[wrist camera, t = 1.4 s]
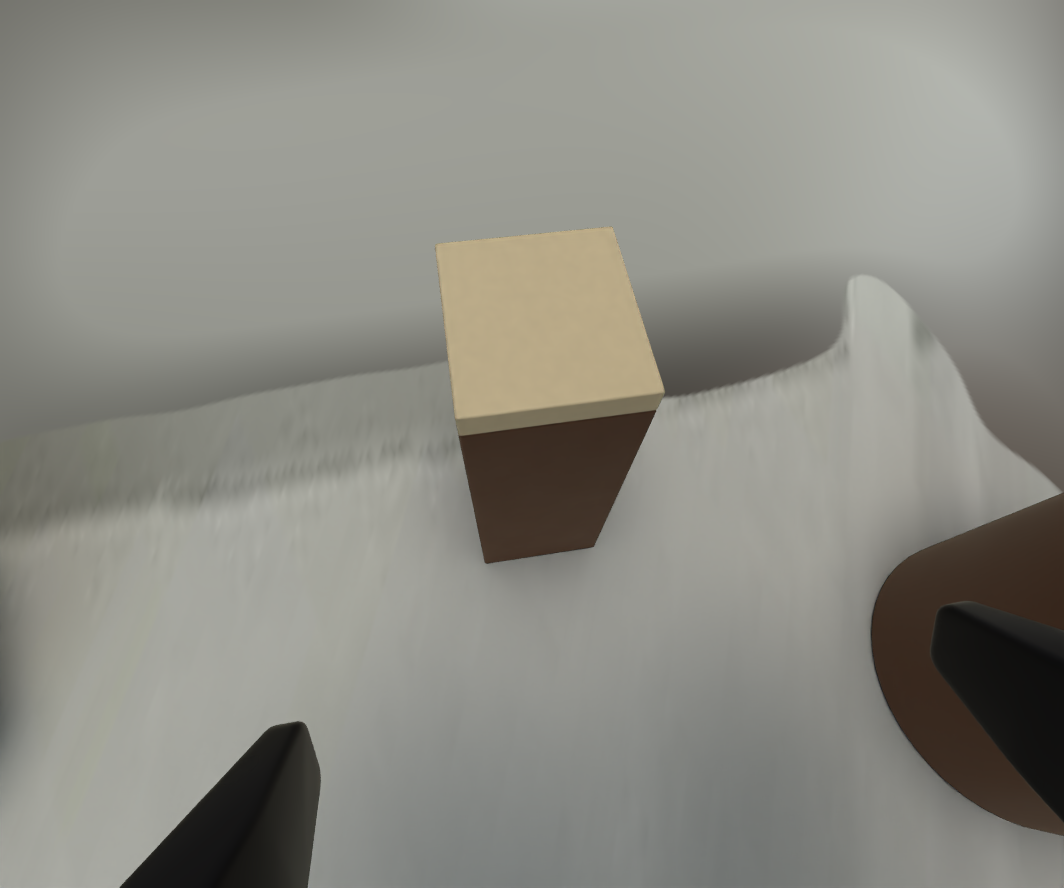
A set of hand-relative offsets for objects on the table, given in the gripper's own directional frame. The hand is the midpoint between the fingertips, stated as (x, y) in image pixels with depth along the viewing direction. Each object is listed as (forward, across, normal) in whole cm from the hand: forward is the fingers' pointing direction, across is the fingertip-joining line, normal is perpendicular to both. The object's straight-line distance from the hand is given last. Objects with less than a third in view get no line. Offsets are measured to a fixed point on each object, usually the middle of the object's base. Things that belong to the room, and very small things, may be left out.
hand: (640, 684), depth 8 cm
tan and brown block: (+15, 0, +4) cm, 16 cm away
